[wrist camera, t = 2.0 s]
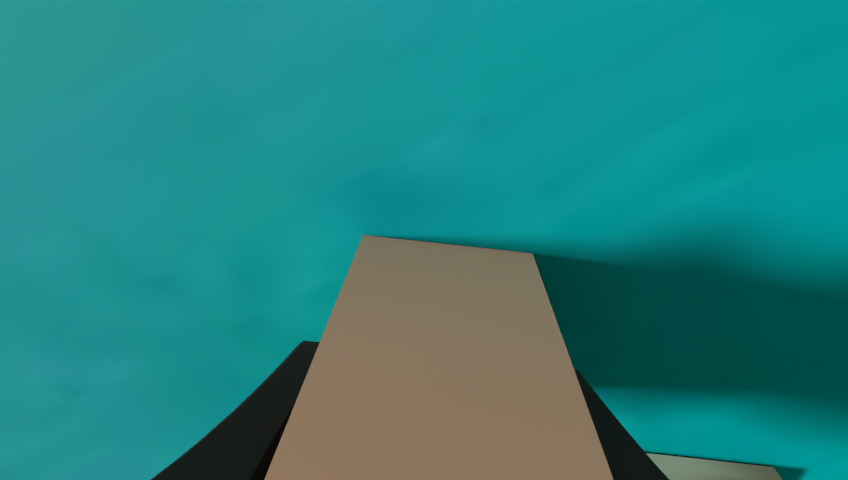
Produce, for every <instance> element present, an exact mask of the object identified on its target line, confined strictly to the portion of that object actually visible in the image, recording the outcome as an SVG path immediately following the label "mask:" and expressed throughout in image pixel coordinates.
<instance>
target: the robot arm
mask: <svg viewBox="0 0 848 480" xmlns="http://www.w3.org/2000/svg"><path fill="white" fill-rule="evenodd" d="M319 343H320V342H311V341H303V342H301V343H300V344H299V345H298V346H297V347H296V348H295V349H294V350H293V351H292V352H291V353H290V355H289V356H288V357H287V358H286V359H285V360H284V361H283V362H282V363H281V364H280V365H279V366H278V367H277V368H276V370H275V371H274V372H273V373H272V374H271V375H270V376H269V377H268V378H267V379H266V380H265V381H264V382H263V383H262V384H261V385H260V386H259V387H258V388H257V389H256V390H255V391H254V392H253V393H252V394H251V395H250V396H249V397H247V398H246V399H245V400H244V401H243V402H242V403H241V404H240V405H239V406H238V407H237V408H236V409H235V410H234V411H233V412H232V413H231V414H230V415H228V416H227V417H226V418H225V419H224V420H223V421H222V422H220V423H219V424H218V425H217V426H216V427H215V428H214V429H213V430H211V431H210V432H209V433H208V434H207V435H206V436H205V437H203V438H202V439H201V440H200V441H199V442H198V443H196V444H195V445H194V446H193V447H192V448H190V449H189V450H188V451H187V452H186V453H184V454H183V455H182V456H181V457H179V458H178V459H177V460H176V461H174V462H173V463H172V464H170V465H169V466H168V467H167V468H165V469H164V470H163V471H161V472H160V473H159V474H157V475H156V476H155V477H154V478H152V479H151V480H264V479H265V477H266V474H267V472H268V469H269V467H270V464H271V462H272V459H273V457H274V455H275V452H276V450H277V447H278V445H279V442H280V440H281V437H282V435H283V432H284V430H285V427H286V425H287V422H288V420H289V417H290V415H291V412H292V410H293V407H294V405H295V402H296V400H297V397H298V395H299V393H300V390H301V388H302V385H303V383H304V380H305V378H306V375H307V373H308V370H309V368H310V365H311V363H312V360H313V358H314V355H315V353H316V350H317V348H318V345H319ZM574 371H575V374H576V376H577V379H578V382H579V385H580V387H581V390H582V393H583V396H584V399H585V401H586V404H587V407H588V410H589V413H590V415H591V418H592V421H593V424H594V427H595V429H596V432H597V435H598V438H599V441H600V443H601V446H602V449H603V452H604V455H605V457H606V460H607V463H608V466H609V468H610V471H611V474H612V477H613V480H669V478H668V477H667V476H666V475H665V474H664V473H663V472H662V471H661V470H660V469H659V468H658V467H657V465H656V464H655V463H654V462H653V461H652V460H651V459H650V458H649V456H648V455H647V454H646V453H645V452H644V451H643V450H642V448H641V447H640V446H639V445H638V444H637V443H636V441H635V440H634V439H633V438H632V437H631V435H630V434H629V433H628V432H627V431H626V430H625V428H624V427H623V426H622V425H621V424H620V422H619V421H618V420H617V419H616V417H615V416H614V415H613V414H612V412H611V411H610V410H609V409H608V408H607V406H606V405H605V404H604V403H603V401H602V400H601V399H600V398H599V396H598V395H597V394H596V393H595V391H594V390H593V389H592V388H591V386H590V385H589V384H588V382H587V381H586V380H585V379H584V378H583V376H582V375H581V374H580V373H579V371H577V370H574Z"/></svg>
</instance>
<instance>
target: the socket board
mask: <svg viewBox="0 0 848 480" xmlns="http://www.w3.org/2000/svg"><path fill="white" fill-rule="evenodd" d="M646 454H647V455H648V456H649V458H650V459H651V460H652V461H653V462H654V463H655V464H656V465H657V467H658V468H659V469H660V470H661V471H662V472H663V473H664V474H665V475H666V476H667V477H668V478H669V480H782V478H781V477H780V476H779V474H778V473H777V471H776V470H775V469H774V467H769V466H760V465H751V464H742V463H732V462H723V461H714V460H705V459H696V458H687V457H678V456H669V455H660V454H650V453H646Z"/></svg>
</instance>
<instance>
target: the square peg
mask: <svg viewBox="0 0 848 480" xmlns="http://www.w3.org/2000/svg"><path fill="white" fill-rule="evenodd" d="M264 480H613V477H612V474H611V471H610V468H609V466H608V463H607V460H606V457H605V455H604V452H603V449H602V446H601V443H600V441H599V438H598V435H597V432H596V429H595V427H594V424H593V421H592V418H591V415H590V413H589V410H588V407H587V404H586V401H585V399H584V396H583V393H582V390H581V387H580V385H579V382H578V379H577V376H576V374H575V371H574V368H573V365H572V362H571V360H570V357H569V354H568V351H567V348H566V346H565V343H564V340H563V337H562V334H561V332H560V329H559V326H558V323H557V320H556V318H555V315H554V312H553V309H552V306H551V304H550V301H549V298H548V295H547V292H546V290H545V287H544V284H543V281H542V279H541V276H540V273H539V270H538V267H537V265H536V262H535V259H534V256H533V253H524V252H515V251H506V250H497V249H487V248H478V247H469V246H460V245H451V244H441V243H432V242H423V241H414V240H404V239H395V238H386V237H377V236H368V235H363V236H362V239H361V241H360V244H359V246H358V249H357V251H356V254H355V256H354V259H353V261H352V264H351V266H350V269H349V271H348V274H347V276H346V279H345V281H344V283H343V286H342V288H341V291H340V293H339V296H338V298H337V301H336V303H335V306H334V308H333V311H332V313H331V316H330V318H329V321H328V323H327V326H326V328H325V331H324V333H323V336H322V338H321V340H320V343H319V345H318V348H317V350H316V353H315V355H314V358H313V360H312V363H311V365H310V368H309V370H308V373H307V375H306V378H305V380H304V383H303V385H302V388H301V390H300V393H299V395H298V397H297V400H296V402H295V405H294V407H293V410H292V412H291V415H290V417H289V420H288V422H287V425H286V427H285V430H284V432H283V435H282V437H281V440H280V442H279V445H278V447H277V450H276V452H275V455H274V457H273V459H272V462H271V464H270V467H269V469H268V472H267V474H266V477H265V479H264Z"/></svg>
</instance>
